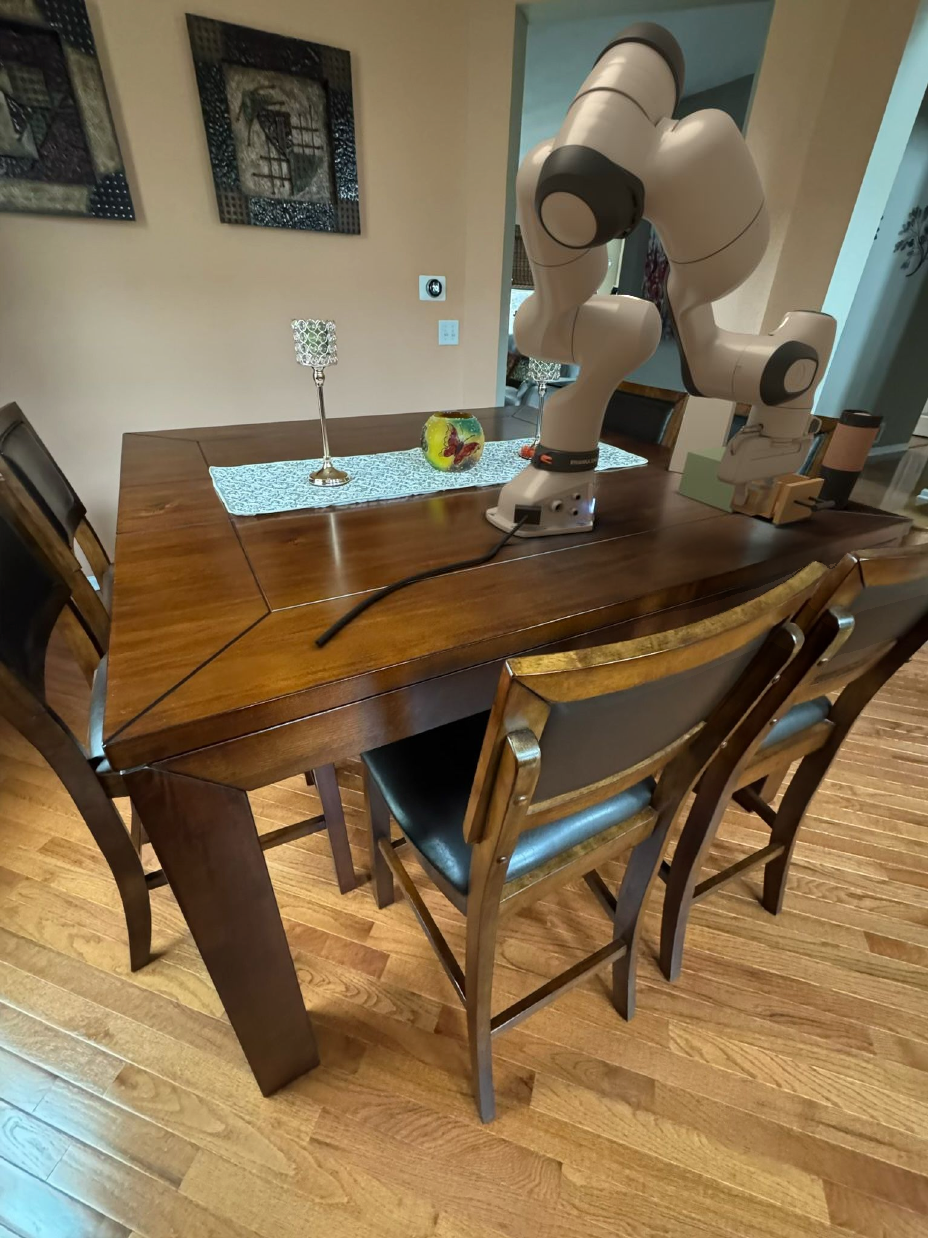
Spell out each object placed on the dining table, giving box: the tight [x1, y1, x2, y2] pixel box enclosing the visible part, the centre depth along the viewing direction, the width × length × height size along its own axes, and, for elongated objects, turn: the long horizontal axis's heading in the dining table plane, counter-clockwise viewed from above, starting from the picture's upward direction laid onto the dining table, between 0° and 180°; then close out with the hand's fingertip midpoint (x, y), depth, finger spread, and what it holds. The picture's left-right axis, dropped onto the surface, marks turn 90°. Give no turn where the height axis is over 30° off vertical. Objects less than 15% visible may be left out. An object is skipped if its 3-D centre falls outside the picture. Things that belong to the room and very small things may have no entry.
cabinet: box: [677, 446, 738, 514], centre depth 121 cm, size 15×13×10 cm
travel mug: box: [815, 408, 885, 511], centre depth 118 cm, size 8×8×20 cm
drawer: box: [752, 472, 835, 525], centre depth 111 cm, size 18×11×8 cm, turn 30°
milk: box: [668, 394, 738, 474], centre depth 138 cm, size 12×12×26 cm
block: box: [729, 482, 774, 517], centre depth 97 cm, size 4×4×4 cm
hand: (750, 501), depth 97 cm, fingers closed on block, 4 cm apart
